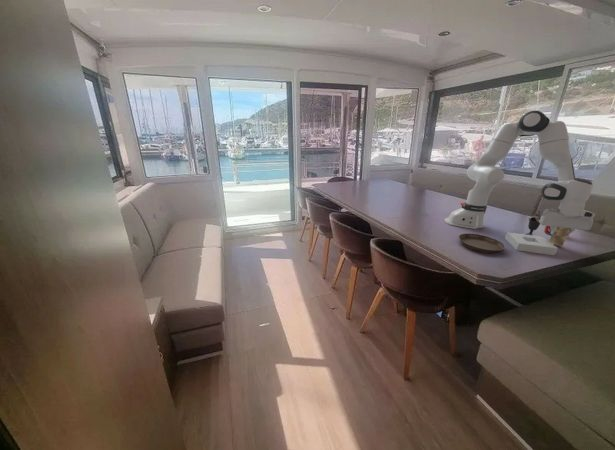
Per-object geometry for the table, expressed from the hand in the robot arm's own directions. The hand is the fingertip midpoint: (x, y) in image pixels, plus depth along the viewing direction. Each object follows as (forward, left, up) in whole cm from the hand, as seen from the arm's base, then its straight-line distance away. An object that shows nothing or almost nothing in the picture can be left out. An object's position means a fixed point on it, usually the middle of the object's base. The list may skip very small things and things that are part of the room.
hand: (559, 235), depth 131 cm
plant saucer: (-39, -16, -7) cm, 43 cm away
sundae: (-6, +12, -7) cm, 15 cm away
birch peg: (0, 0, -5) cm, 5 cm away
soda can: (+8, +21, -7) cm, 24 cm away
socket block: (-14, -7, -6) cm, 17 cm away
